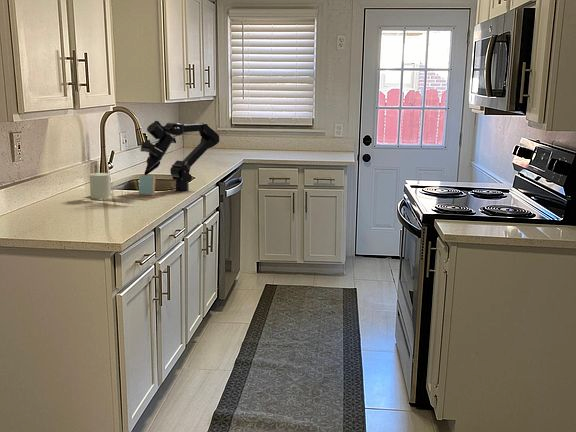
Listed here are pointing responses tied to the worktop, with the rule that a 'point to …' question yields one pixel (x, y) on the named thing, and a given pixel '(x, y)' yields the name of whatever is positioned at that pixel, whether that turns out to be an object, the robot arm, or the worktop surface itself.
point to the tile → (147, 185)
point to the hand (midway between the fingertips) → (145, 172)
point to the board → (140, 196)
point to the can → (100, 186)
